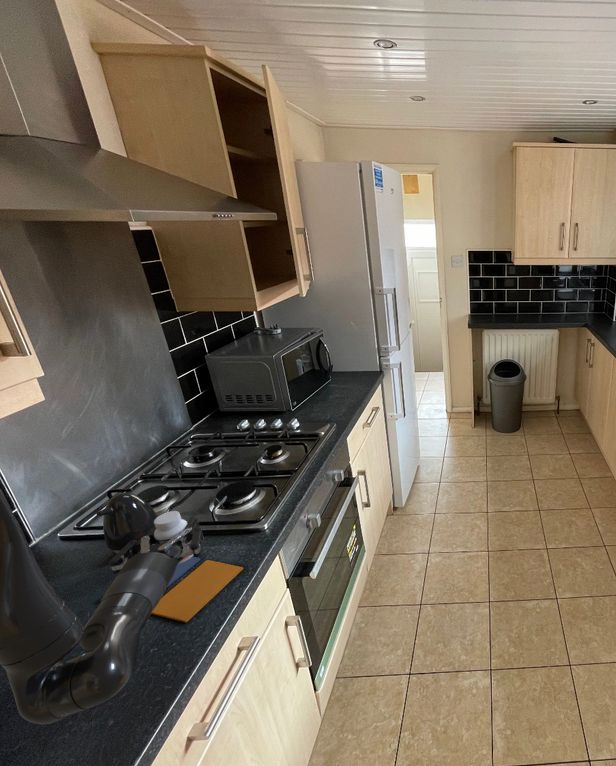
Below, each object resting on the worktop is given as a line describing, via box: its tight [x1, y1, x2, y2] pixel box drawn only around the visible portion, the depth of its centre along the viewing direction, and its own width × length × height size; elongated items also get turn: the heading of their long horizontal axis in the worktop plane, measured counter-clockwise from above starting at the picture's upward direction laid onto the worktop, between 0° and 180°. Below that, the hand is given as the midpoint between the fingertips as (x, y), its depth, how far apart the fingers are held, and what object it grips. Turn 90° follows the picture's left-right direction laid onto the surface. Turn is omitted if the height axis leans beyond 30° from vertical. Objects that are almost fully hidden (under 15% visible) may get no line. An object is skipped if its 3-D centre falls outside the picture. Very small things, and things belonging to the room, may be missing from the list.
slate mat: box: [100, 556, 201, 601], centre depth 92 cm, size 14×10×1 cm
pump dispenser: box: [95, 492, 159, 555], centre depth 98 cm, size 10×10×15 cm
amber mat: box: [150, 559, 244, 623], centre depth 89 cm, size 14×10×1 cm
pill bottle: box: [154, 510, 194, 564], centre depth 83 cm, size 5×5×10 cm
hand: (177, 524), depth 85 cm, fingers closed on pill bottle, 5 cm apart
